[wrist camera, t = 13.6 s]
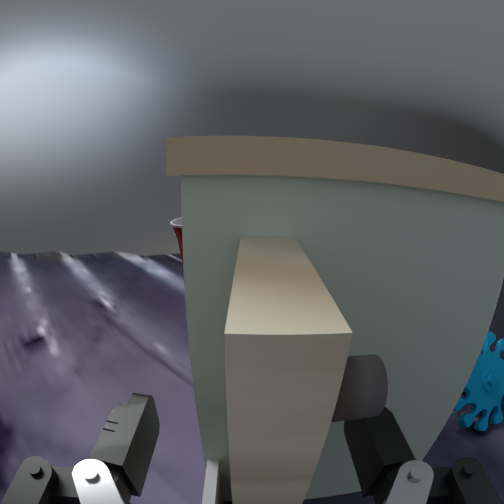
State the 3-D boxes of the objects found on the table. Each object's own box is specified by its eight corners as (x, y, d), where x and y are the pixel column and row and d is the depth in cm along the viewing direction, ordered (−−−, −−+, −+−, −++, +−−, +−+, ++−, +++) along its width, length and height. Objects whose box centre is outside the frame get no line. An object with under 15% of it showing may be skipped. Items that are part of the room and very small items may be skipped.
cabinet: (430, 519, 10) (590, 194, 5) (200, 551, 10) (108, 116, 4) (369, 385, 27) (407, 170, 21) (219, 391, 26) (214, 156, 21)
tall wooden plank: (290, 571, 9) (421, 326, 4) (238, 572, 9) (223, 333, 4) (284, 501, 14) (330, 239, 10) (240, 501, 14) (240, 237, 10)
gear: (447, 433, 17) (459, 323, 21) (416, 431, 22) (430, 339, 26) (522, 426, 15) (528, 335, 19) (489, 429, 20) (497, 349, 25)
